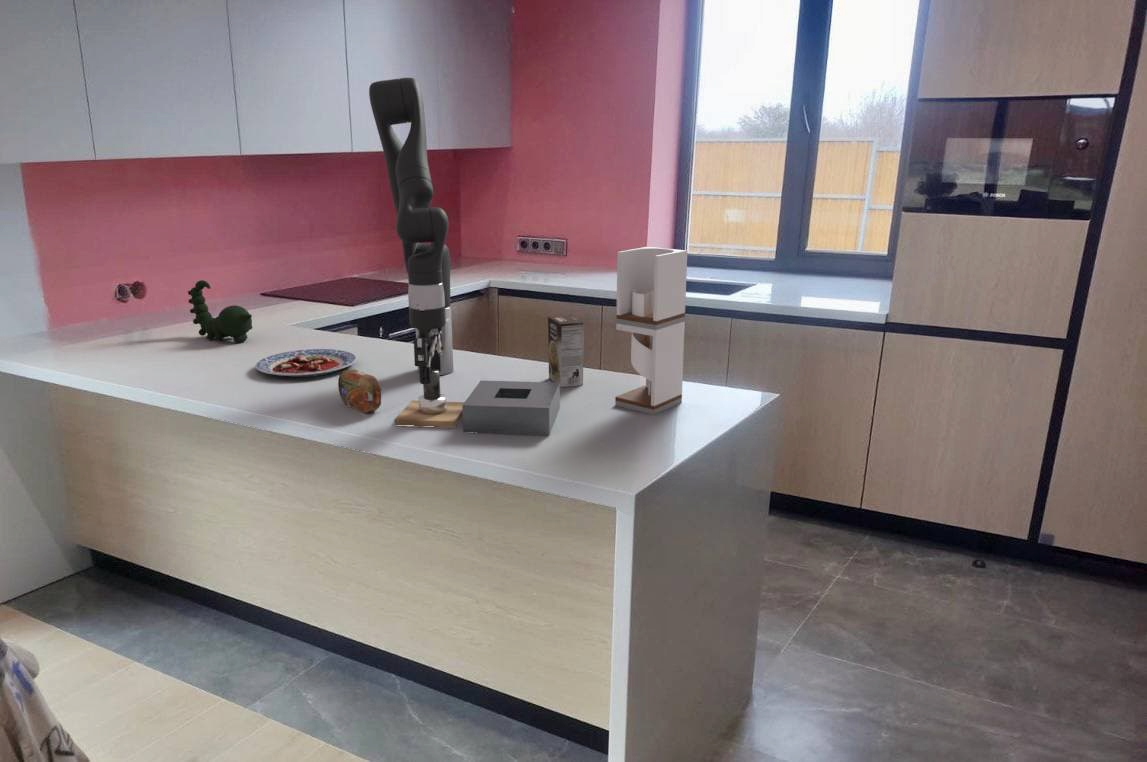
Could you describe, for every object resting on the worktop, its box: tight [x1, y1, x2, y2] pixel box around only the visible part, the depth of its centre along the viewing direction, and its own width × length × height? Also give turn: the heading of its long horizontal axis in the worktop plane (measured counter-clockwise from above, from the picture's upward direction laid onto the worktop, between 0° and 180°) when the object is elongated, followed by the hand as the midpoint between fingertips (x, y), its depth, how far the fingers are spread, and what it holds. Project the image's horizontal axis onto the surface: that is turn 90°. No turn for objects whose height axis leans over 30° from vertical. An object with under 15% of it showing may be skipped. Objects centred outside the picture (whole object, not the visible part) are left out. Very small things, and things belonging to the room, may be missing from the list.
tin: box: [337, 369, 382, 414], centre depth 183 cm, size 15×3×8 cm, turn 45°
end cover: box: [417, 369, 447, 415], centre depth 176 cm, size 6×6×9 cm
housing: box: [462, 379, 561, 436], centre depth 175 cm, size 18×18×6 cm
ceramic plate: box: [255, 348, 358, 378], centre depth 216 cm, size 26×26×3 cm
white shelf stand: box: [614, 246, 688, 416], centre depth 182 cm, size 11×11×35 cm
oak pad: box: [393, 400, 465, 429], centre depth 178 cm, size 13×13×2 cm
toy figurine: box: [187, 279, 253, 344], centre depth 244 cm, size 9×19×25 cm
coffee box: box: [547, 314, 585, 388], centre depth 202 cm, size 9×6×16 cm
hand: (430, 377), depth 175 cm, fingers open, 8 cm apart
